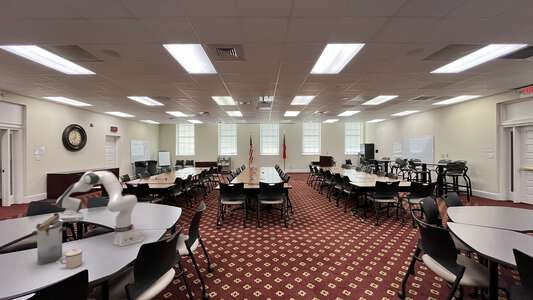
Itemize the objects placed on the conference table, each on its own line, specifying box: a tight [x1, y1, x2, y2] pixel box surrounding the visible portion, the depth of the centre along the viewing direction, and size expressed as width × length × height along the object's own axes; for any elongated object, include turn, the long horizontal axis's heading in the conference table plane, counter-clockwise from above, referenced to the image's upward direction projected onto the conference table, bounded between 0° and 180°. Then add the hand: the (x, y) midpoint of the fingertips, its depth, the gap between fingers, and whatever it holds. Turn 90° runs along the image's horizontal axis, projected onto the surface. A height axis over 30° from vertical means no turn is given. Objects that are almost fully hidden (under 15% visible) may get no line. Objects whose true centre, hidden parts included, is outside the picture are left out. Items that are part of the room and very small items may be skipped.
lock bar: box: [39, 212, 60, 231], centre depth 166 cm, size 3×28×5 cm, turn 27°
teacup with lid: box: [59, 247, 83, 269], centre depth 158 cm, size 12×9×12 cm
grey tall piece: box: [31, 219, 67, 266], centre depth 166 cm, size 18×14×28 cm
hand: (68, 221), depth 192 cm, fingers open, 8 cm apart
